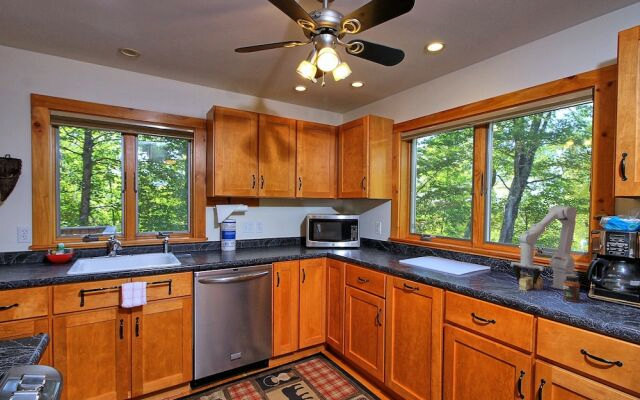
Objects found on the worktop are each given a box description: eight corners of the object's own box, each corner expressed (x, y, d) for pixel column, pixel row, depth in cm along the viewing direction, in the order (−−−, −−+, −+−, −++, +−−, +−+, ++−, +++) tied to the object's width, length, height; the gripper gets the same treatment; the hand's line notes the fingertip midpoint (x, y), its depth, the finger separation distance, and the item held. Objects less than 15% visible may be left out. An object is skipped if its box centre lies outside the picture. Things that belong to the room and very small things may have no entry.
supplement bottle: (579, 300, 145) (580, 276, 145) (579, 303, 141) (579, 278, 141) (563, 297, 149) (564, 274, 149) (562, 300, 145) (563, 276, 145)
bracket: (542, 288, 165) (542, 275, 165) (539, 289, 162) (539, 276, 162) (523, 284, 172) (523, 272, 172) (520, 285, 169) (520, 273, 169)
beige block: (527, 286, 167) (527, 276, 167) (533, 287, 165) (533, 277, 165) (519, 289, 161) (519, 278, 161) (525, 290, 159) (525, 280, 159)
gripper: (508, 254, 167) (508, 279, 167) (540, 259, 155) (539, 286, 155) (514, 253, 171) (514, 277, 171) (545, 257, 159) (544, 284, 159)
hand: (526, 281), depth 163 cm, fingers open, 7 cm apart
